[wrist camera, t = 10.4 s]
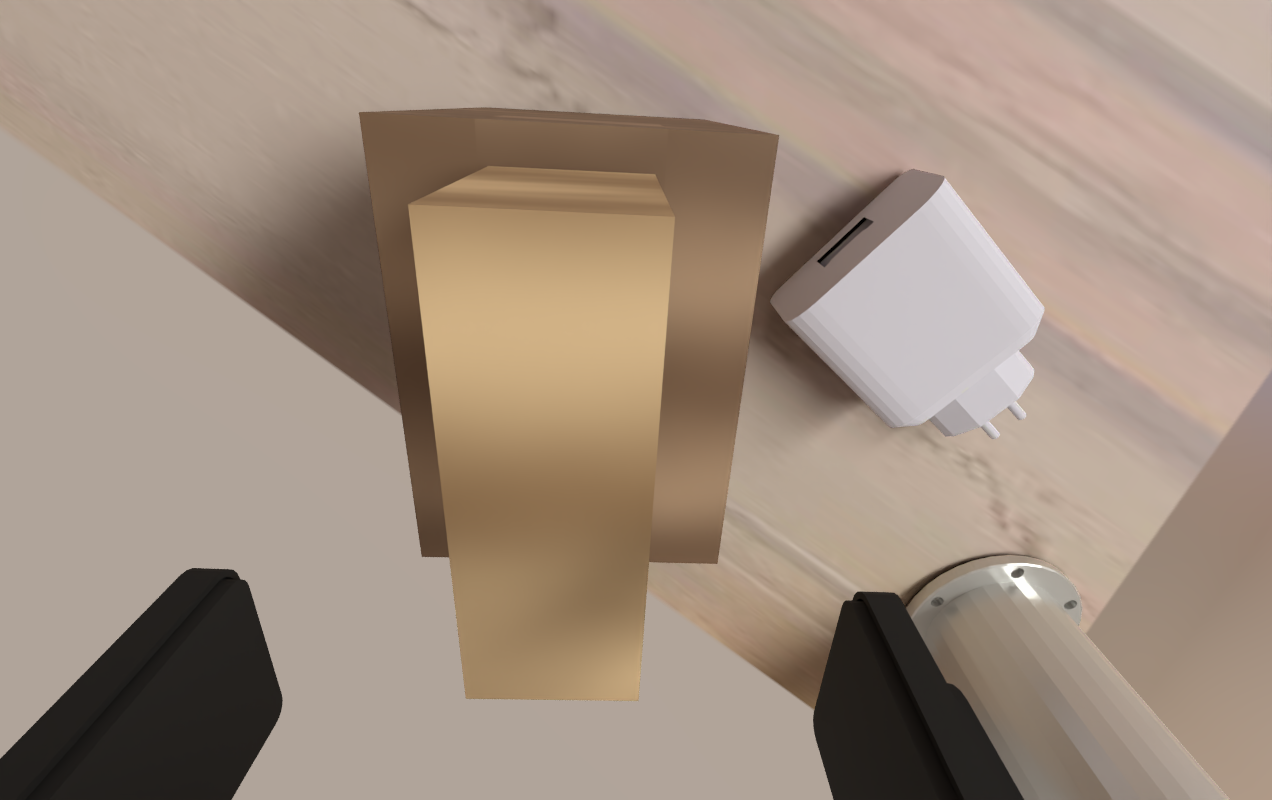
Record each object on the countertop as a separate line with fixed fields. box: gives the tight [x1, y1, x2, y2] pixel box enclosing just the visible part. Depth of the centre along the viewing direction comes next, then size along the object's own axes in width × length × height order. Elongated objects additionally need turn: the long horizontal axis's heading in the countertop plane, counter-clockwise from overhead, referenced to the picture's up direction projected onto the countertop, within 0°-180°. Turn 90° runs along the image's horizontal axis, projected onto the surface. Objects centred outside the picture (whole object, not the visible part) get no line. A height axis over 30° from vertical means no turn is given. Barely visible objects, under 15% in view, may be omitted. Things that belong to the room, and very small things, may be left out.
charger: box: [770, 169, 1045, 439], centre depth 32 cm, size 5×9×15 cm
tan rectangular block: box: [408, 166, 675, 701], centre depth 16 cm, size 11×4×11 cm, turn 177°
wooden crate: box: [359, 108, 779, 564], centre depth 25 cm, size 14×10×15 cm
